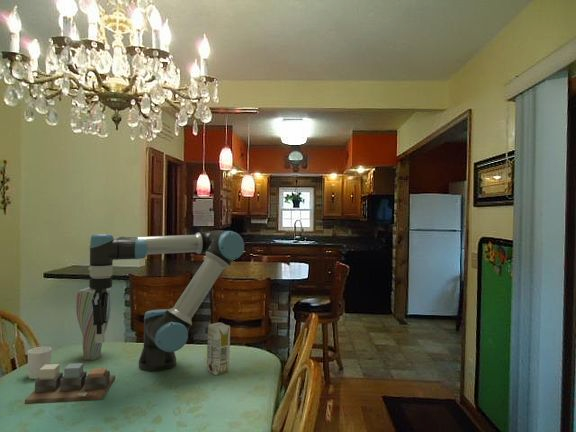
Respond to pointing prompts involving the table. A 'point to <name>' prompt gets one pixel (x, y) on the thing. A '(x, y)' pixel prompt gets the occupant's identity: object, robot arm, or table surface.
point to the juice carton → (218, 348)
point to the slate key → (73, 371)
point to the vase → (89, 321)
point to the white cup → (38, 360)
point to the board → (70, 388)
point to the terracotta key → (98, 372)
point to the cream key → (49, 371)
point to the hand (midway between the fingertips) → (99, 342)
